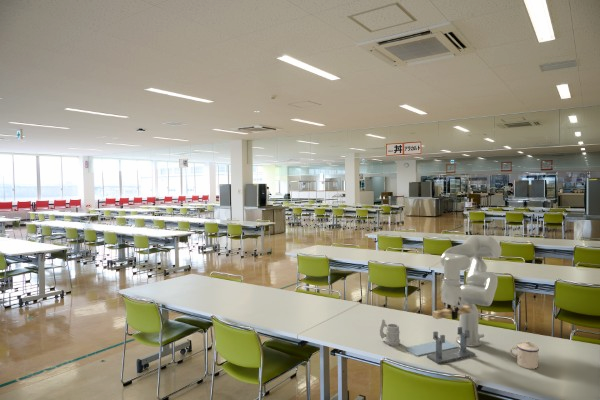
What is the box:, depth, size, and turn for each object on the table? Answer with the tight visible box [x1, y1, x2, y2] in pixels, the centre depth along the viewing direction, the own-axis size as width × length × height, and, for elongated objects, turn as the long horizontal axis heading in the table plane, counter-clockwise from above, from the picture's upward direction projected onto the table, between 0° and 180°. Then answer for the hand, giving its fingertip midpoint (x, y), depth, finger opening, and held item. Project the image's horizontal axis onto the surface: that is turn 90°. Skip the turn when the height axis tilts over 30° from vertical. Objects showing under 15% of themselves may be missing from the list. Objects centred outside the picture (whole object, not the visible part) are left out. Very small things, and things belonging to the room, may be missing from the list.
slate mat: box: [403, 339, 460, 357], centre depth 204 cm, size 28×10×1 cm, turn 113°
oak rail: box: [432, 305, 471, 320], centre depth 193 cm, size 22×3×3 cm, turn 113°
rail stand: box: [426, 326, 476, 365], centre depth 193 cm, size 24×8×13 cm, turn 113°
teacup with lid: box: [509, 340, 540, 370], centre depth 185 cm, size 12×9×12 cm
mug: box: [379, 318, 401, 347], centre depth 211 cm, size 8×12×12 cm, turn 50°
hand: (451, 317), depth 193 cm, fingers closed on oak rail, 3 cm apart
